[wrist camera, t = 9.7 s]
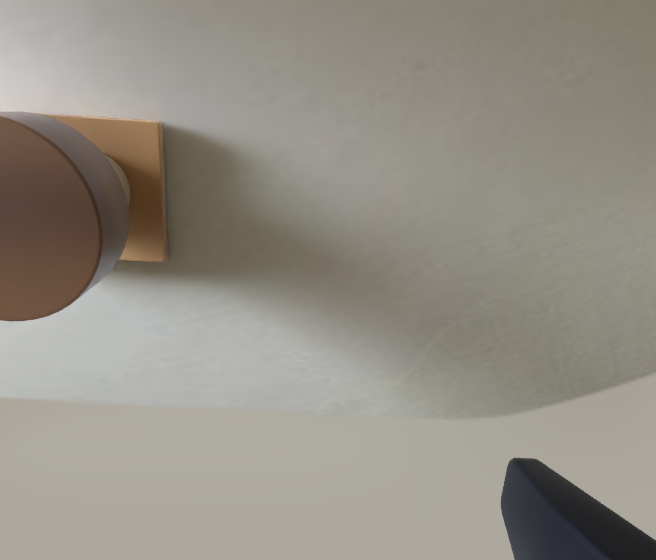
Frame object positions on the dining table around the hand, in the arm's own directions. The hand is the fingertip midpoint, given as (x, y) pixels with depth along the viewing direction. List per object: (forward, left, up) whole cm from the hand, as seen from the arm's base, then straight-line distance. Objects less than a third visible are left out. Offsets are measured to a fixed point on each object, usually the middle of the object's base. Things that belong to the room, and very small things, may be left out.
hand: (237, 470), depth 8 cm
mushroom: (+3, +7, -11) cm, 13 cm away
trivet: (+2, +7, -12) cm, 14 cm away
